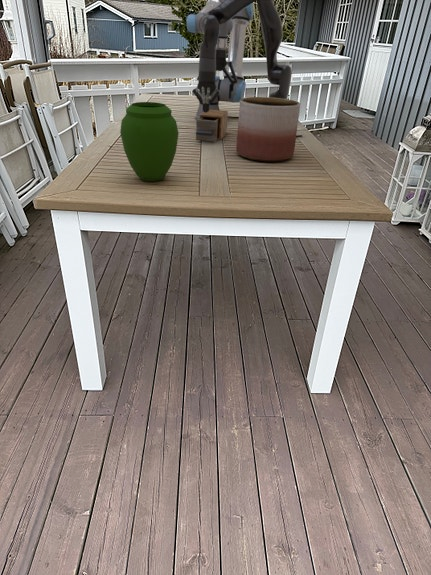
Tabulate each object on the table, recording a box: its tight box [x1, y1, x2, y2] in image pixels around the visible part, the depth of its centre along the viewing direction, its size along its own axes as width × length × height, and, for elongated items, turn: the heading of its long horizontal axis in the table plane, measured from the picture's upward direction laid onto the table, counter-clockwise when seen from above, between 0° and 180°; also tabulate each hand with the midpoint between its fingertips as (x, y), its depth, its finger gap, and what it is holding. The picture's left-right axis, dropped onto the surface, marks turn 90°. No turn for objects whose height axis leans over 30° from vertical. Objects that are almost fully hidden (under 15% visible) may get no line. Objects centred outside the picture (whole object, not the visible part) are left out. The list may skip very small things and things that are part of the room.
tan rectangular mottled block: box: [199, 109, 229, 141], centre depth 208 cm, size 17×11×11 cm, turn 168°
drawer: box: [195, 117, 220, 143], centre depth 198 cm, size 21×10×9 cm, turn 168°
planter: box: [235, 96, 301, 163], centre depth 175 cm, size 25×25×22 cm
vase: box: [119, 101, 179, 182], centre depth 140 cm, size 20×20×24 cm
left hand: (216, 97), depth 206 cm, fingers open, 13 cm apart
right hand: (206, 112), depth 188 cm, fingers closed
